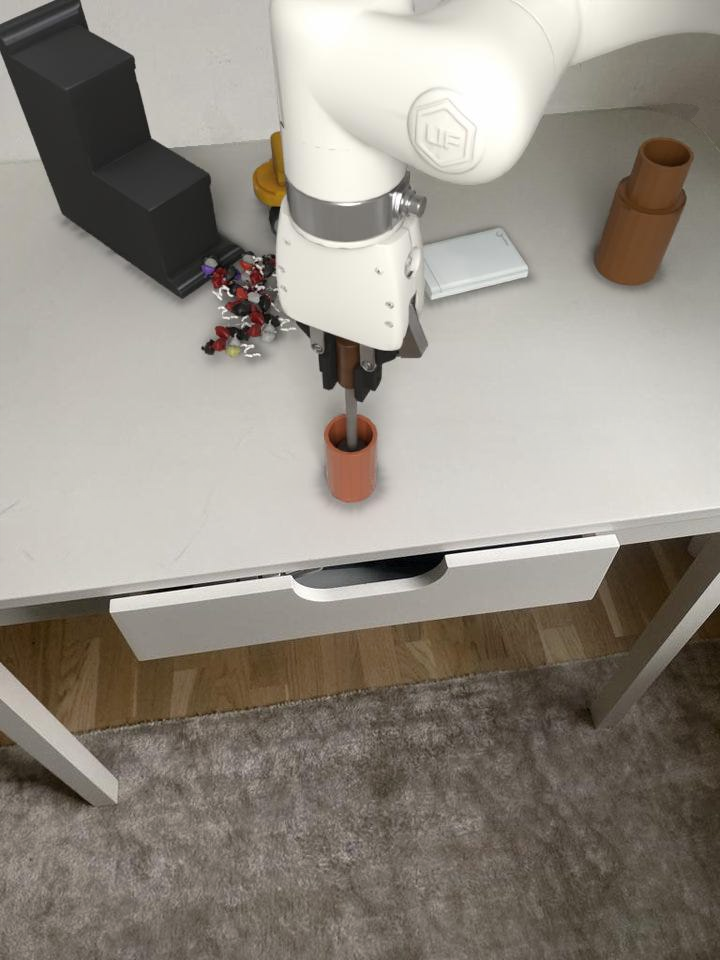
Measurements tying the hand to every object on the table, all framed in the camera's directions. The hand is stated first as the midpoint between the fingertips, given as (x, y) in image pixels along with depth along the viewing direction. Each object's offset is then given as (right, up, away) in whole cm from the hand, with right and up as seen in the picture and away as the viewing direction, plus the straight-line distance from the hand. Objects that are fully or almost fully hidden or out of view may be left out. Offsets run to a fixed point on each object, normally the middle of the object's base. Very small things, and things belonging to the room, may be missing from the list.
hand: (350, 382), depth 63 cm
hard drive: (+14, +18, +30) cm, 37 cm away
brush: (0, -8, +12) cm, 15 cm away
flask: (+33, +18, +30) cm, 48 cm away
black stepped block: (-25, +23, +33) cm, 48 cm away
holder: (0, -8, +13) cm, 15 cm away
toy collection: (-11, +11, +26) cm, 31 cm away
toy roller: (-5, +26, +36) cm, 44 cm away
